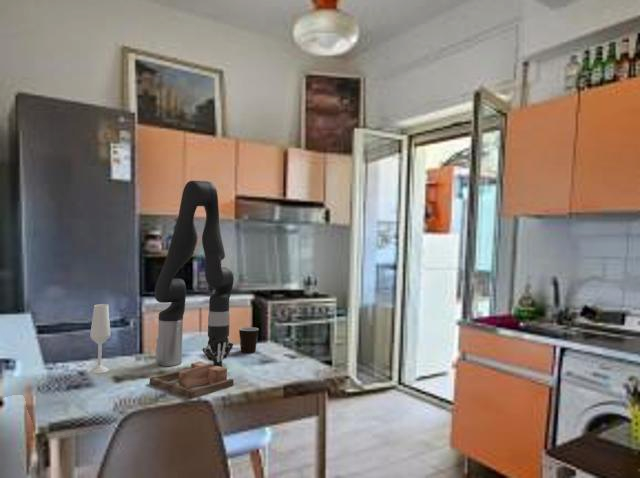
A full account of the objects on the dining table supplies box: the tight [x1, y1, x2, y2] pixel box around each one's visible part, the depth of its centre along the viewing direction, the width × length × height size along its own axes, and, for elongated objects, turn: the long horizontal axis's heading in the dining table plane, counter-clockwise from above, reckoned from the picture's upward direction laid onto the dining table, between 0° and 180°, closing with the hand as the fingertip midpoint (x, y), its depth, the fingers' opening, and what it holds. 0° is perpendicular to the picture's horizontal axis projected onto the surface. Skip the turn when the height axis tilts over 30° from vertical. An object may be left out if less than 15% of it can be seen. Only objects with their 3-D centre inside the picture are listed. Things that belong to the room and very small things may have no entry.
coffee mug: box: [238, 326, 259, 354], centre depth 206 cm, size 12×9×10 cm
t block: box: [178, 361, 228, 389], centre depth 158 cm, size 14×13×5 cm
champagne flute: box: [88, 303, 111, 374], centre depth 170 cm, size 7×7×24 cm
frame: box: [149, 367, 234, 399], centre depth 156 cm, size 22×18×2 cm
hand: (217, 371), depth 165 cm, fingers closed
